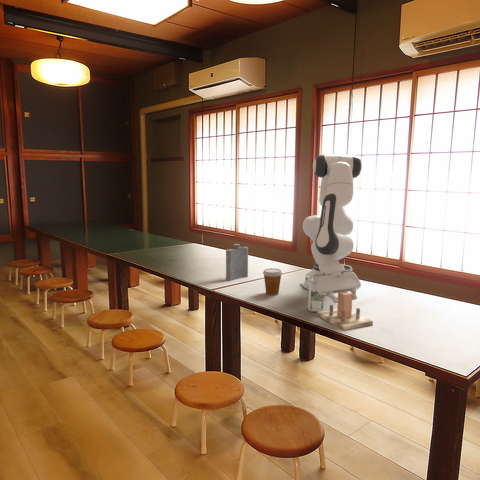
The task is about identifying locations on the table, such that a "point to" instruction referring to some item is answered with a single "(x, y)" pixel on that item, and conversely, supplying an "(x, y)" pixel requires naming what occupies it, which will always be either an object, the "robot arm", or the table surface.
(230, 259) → the hip flask
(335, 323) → the peg board
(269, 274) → the disposable coffee cup
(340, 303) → the terracotta block
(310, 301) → the syrup box
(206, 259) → the table surface
